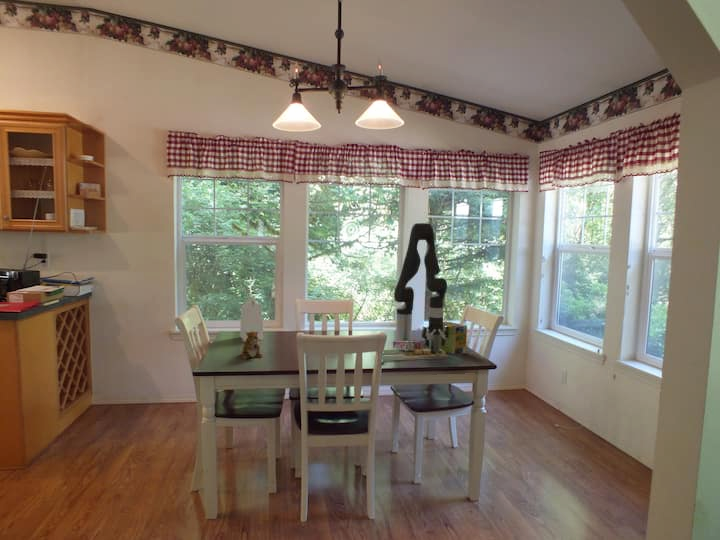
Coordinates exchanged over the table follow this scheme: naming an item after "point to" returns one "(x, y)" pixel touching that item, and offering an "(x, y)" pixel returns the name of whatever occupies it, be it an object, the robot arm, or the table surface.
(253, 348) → the stuffed squirrel
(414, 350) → the chip
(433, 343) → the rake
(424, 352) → the chip
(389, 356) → the tray
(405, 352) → the slot board
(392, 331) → the table surface
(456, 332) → the protein box
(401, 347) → the candy bar box
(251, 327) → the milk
